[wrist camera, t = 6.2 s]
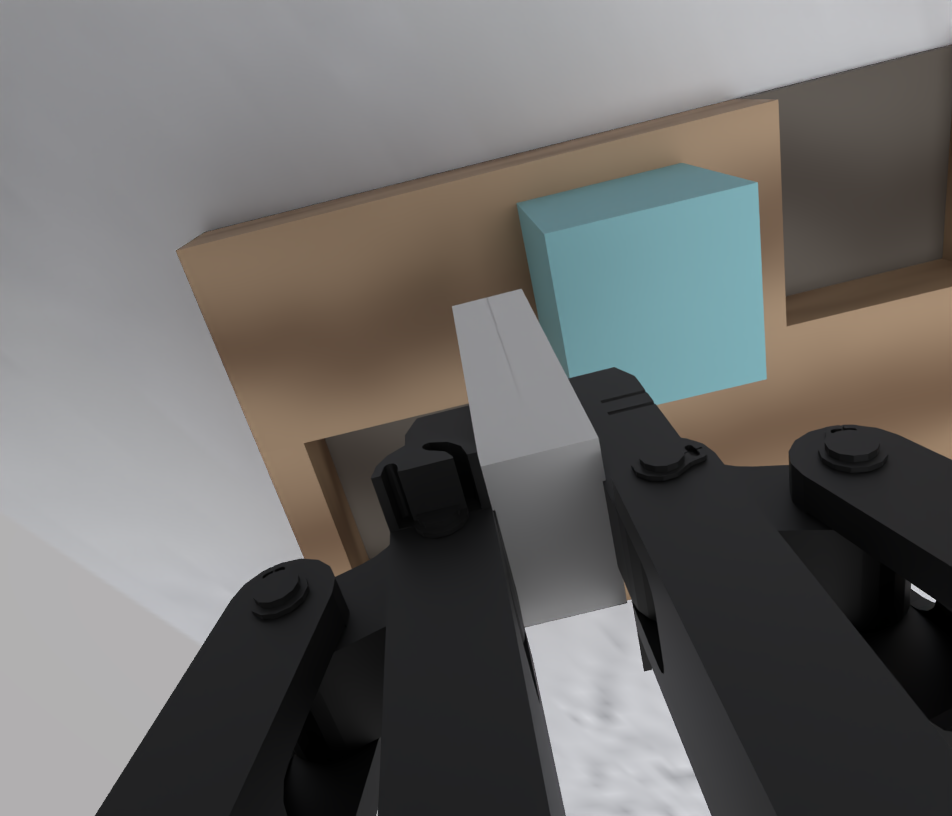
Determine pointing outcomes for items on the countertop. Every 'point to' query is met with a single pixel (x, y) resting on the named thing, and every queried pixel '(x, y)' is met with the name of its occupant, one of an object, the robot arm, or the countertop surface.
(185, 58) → the countertop surface
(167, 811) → the robot arm
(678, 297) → the teal block
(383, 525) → the trap board
